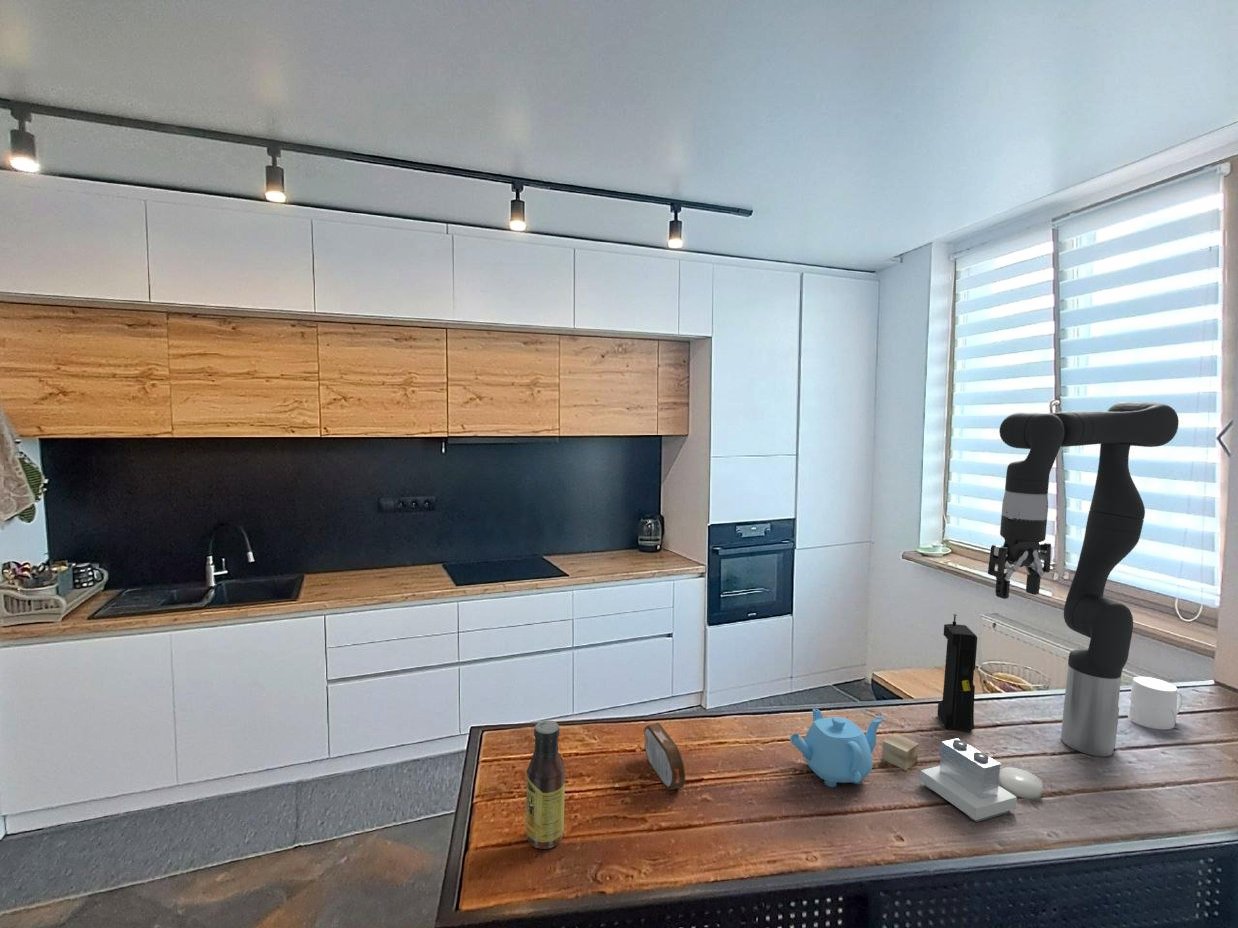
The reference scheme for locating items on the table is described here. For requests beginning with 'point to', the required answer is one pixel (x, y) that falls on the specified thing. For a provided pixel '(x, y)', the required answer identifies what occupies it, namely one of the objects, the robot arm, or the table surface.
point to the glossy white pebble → (1020, 783)
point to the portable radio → (958, 678)
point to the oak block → (900, 751)
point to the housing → (970, 768)
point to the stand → (968, 796)
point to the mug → (1154, 703)
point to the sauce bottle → (545, 789)
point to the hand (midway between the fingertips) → (1017, 595)
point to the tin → (664, 756)
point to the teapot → (838, 748)
